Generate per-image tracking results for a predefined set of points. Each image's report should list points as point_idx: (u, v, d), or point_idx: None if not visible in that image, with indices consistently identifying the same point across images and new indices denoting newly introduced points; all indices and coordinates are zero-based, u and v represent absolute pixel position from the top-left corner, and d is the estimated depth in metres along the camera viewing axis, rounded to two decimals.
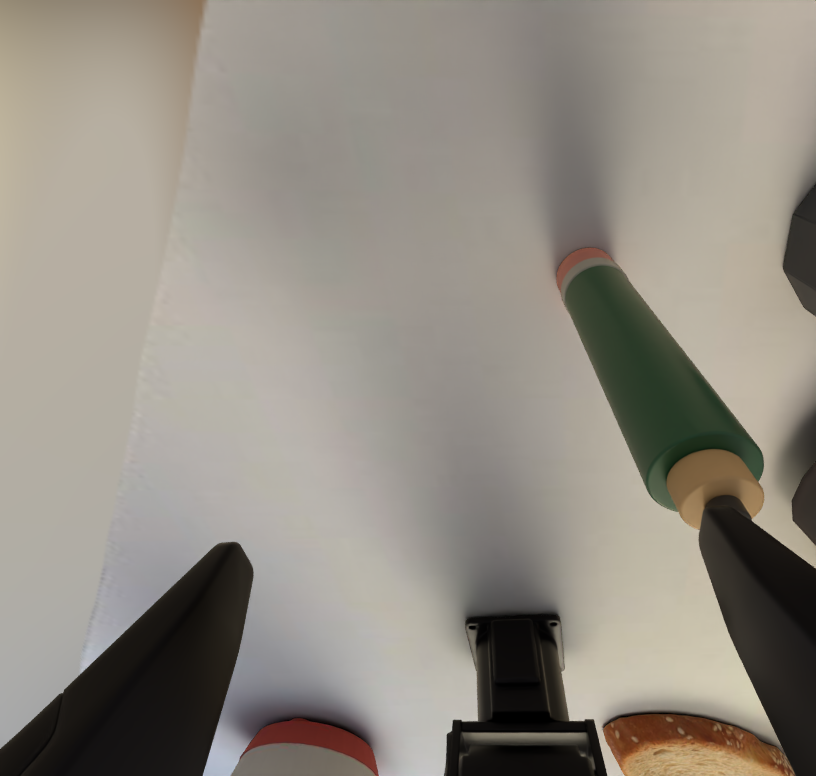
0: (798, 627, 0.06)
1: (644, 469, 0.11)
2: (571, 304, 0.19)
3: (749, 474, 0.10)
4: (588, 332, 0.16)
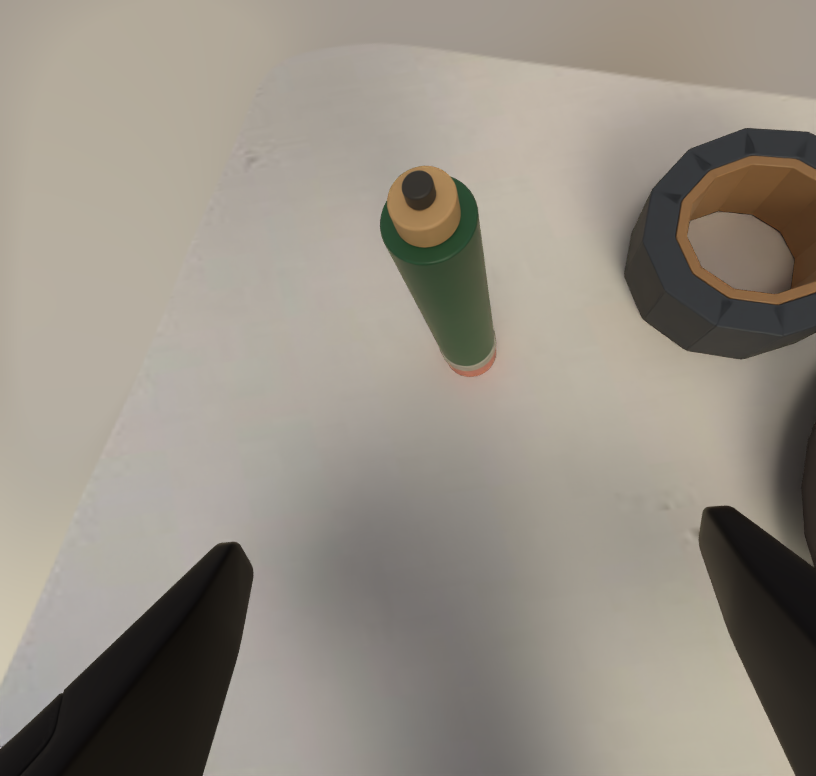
0: (798, 627, 0.06)
1: None
2: None
3: None
4: None
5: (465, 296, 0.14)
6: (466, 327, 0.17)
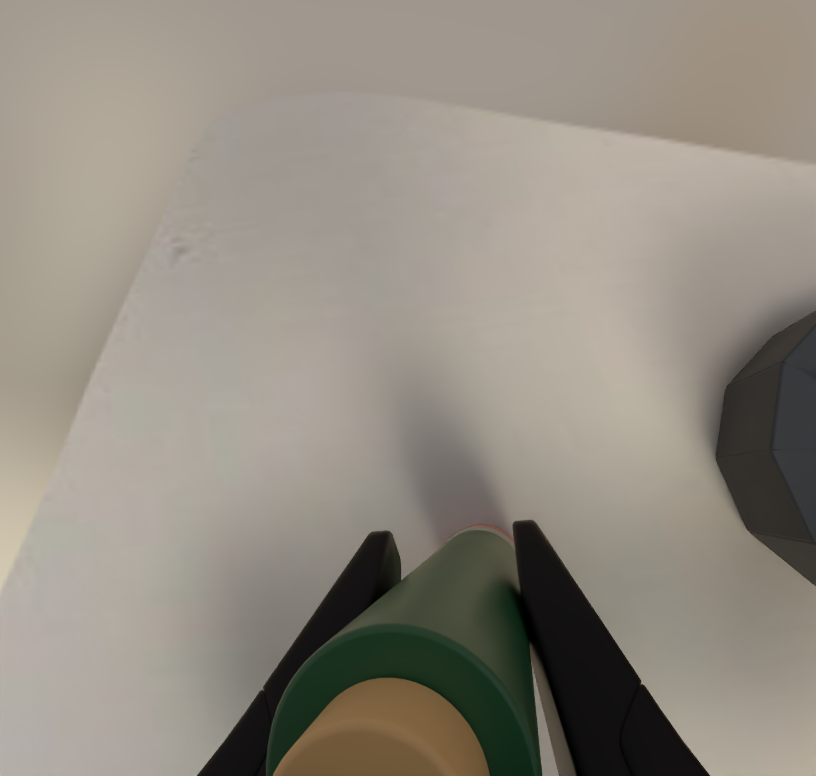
0: (536, 636, 0.07)
1: None
2: None
3: (420, 723, 0.04)
4: None
5: None
6: None
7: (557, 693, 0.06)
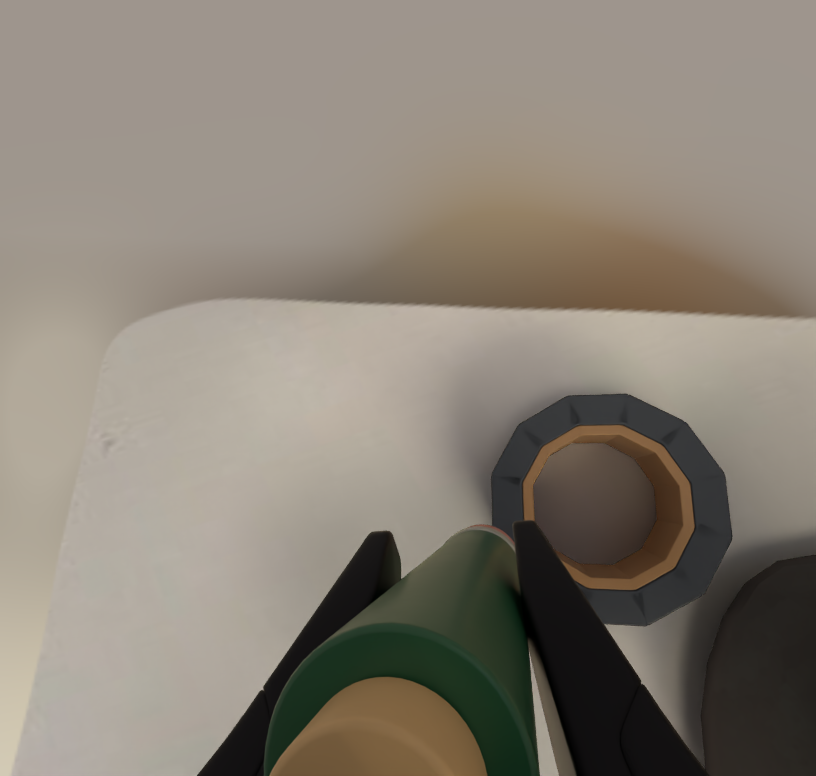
0: (536, 636, 0.07)
1: None
2: None
3: (416, 723, 0.04)
4: None
5: None
6: None
7: (557, 693, 0.06)
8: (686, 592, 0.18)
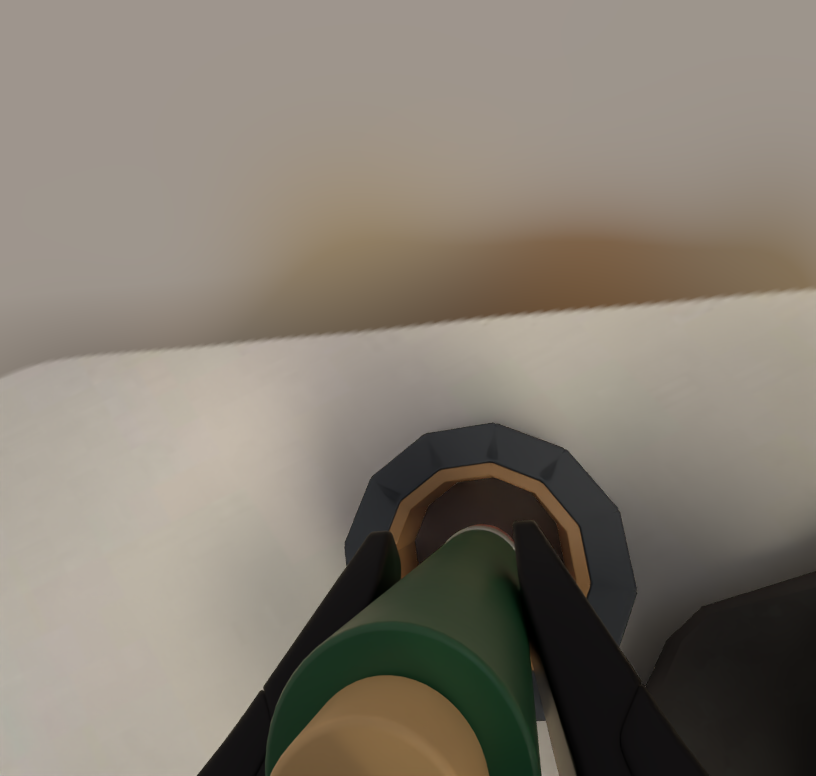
0: (536, 636, 0.07)
1: None
2: None
3: (418, 720, 0.04)
4: None
5: None
6: None
7: (557, 693, 0.06)
8: None
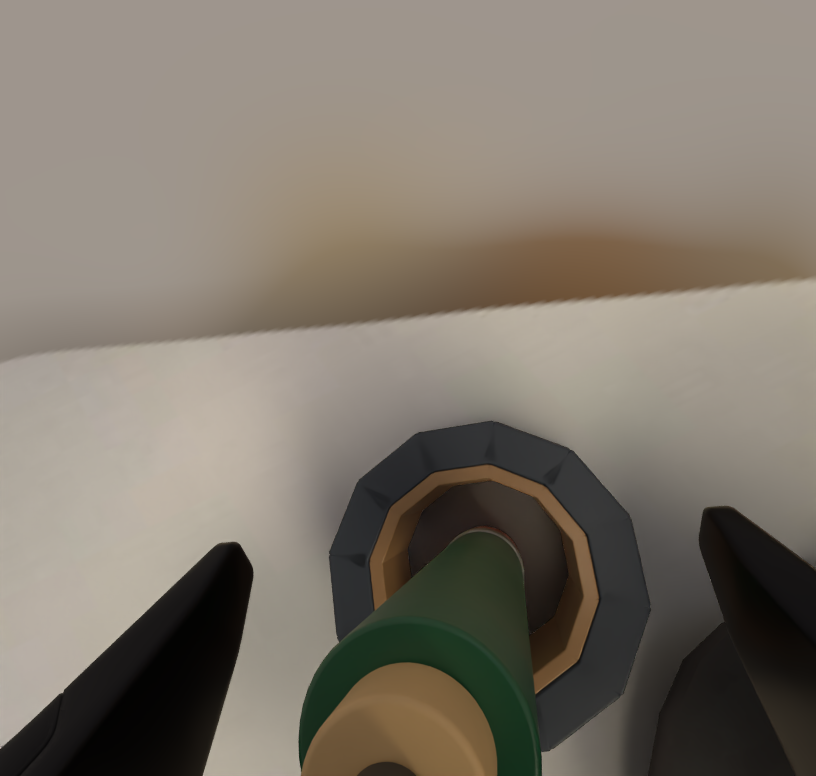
0: (799, 627, 0.06)
1: None
2: None
3: (435, 699, 0.04)
4: None
5: None
6: None
7: None
8: (598, 694, 0.12)
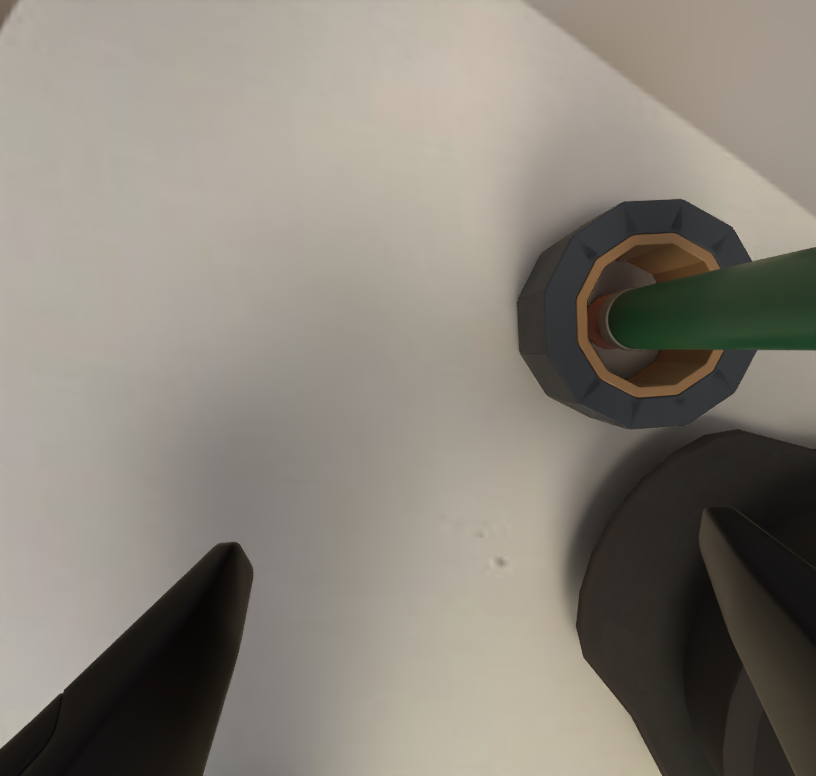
0: (798, 627, 0.06)
1: None
2: (628, 299, 0.19)
3: None
4: (673, 287, 0.16)
5: None
6: (716, 348, 0.15)
7: None
8: (675, 417, 0.19)
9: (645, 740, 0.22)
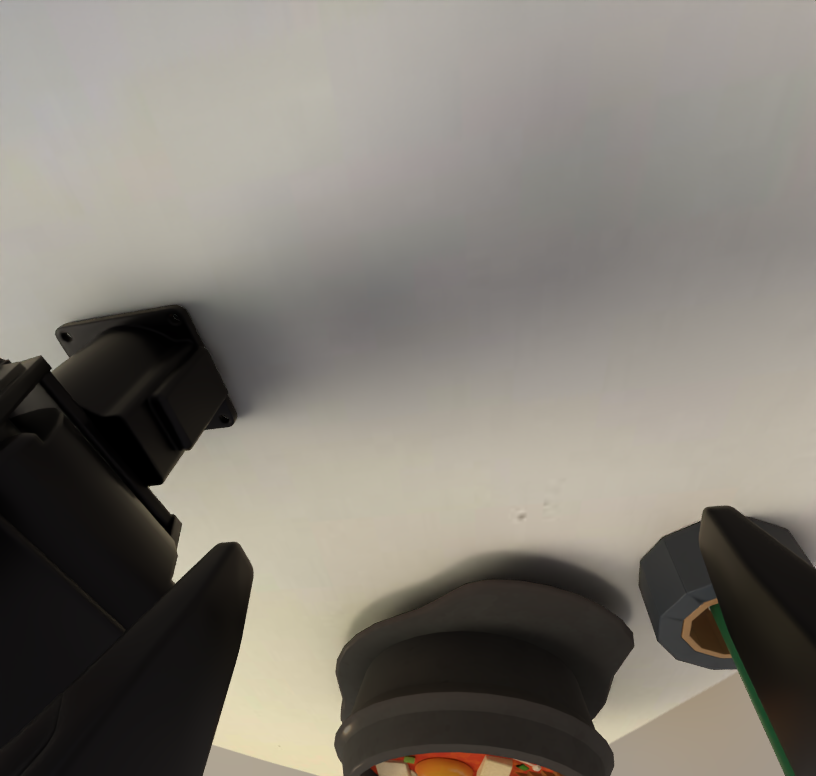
0: (798, 627, 0.06)
1: None
2: None
3: None
4: None
5: (787, 774, 0.21)
6: (758, 703, 0.23)
7: None
8: (665, 636, 0.27)
9: (405, 614, 0.30)
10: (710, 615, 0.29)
